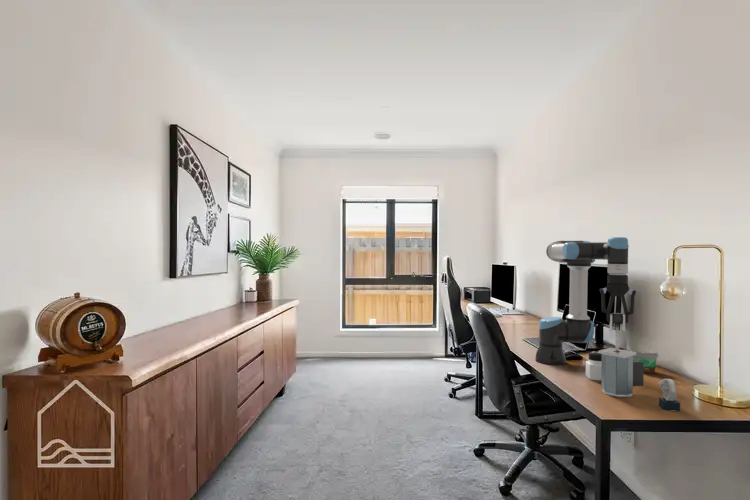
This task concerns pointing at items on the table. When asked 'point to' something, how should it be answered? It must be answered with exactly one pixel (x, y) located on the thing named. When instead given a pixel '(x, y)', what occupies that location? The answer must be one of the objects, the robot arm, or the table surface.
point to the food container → (646, 361)
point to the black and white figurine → (594, 366)
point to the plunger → (617, 327)
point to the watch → (669, 395)
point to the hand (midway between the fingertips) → (617, 330)
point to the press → (620, 372)
